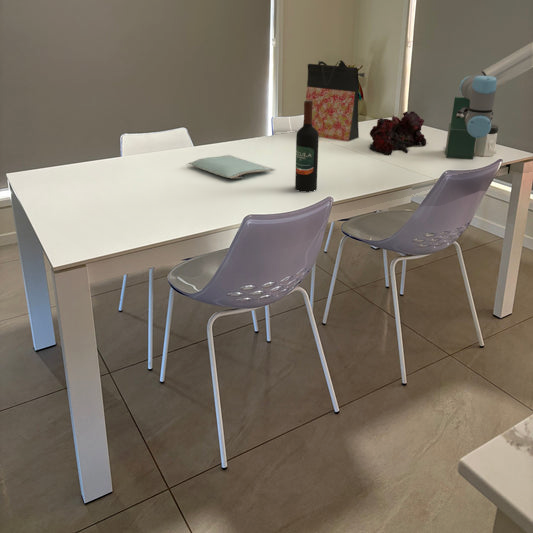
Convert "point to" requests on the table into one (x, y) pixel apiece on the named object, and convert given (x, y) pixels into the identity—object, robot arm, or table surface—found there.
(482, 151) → the jar
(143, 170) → the table surface
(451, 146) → the tea tin
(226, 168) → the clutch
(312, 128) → the wine bottle
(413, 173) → the table surface
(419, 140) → the flower arrangement
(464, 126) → the tin lid
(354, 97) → the gift bag
